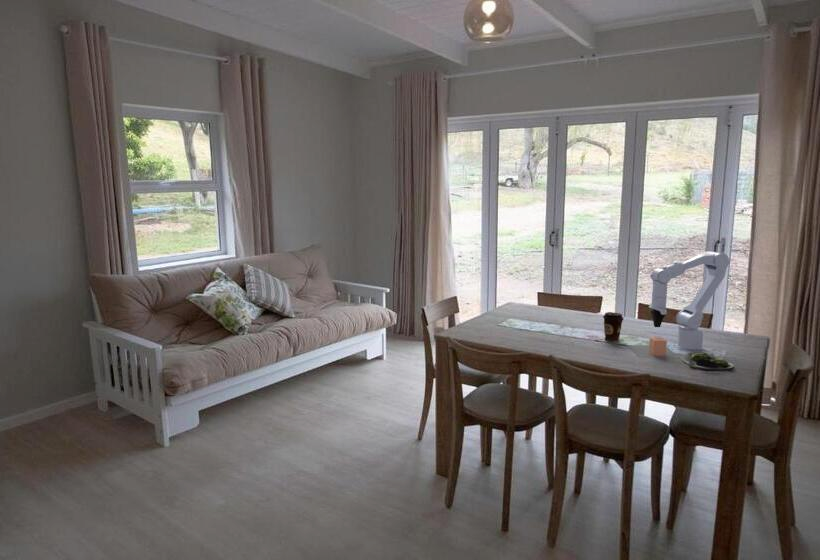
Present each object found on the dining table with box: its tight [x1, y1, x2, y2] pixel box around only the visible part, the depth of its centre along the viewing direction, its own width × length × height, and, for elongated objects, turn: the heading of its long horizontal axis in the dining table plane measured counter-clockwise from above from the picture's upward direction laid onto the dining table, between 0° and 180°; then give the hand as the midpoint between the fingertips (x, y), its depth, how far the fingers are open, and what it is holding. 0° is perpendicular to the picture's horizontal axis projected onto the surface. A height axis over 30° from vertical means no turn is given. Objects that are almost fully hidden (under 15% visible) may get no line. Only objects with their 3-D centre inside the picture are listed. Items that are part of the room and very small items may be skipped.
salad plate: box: [681, 352, 735, 372], centre depth 222 cm, size 19×18×5 cm
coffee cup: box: [602, 311, 624, 343], centre depth 254 cm, size 9×8×13 cm
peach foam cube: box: [648, 336, 668, 356], centre depth 233 cm, size 5×5×7 cm
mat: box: [626, 344, 681, 359], centre depth 238 cm, size 17×17×1 cm
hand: (657, 326), depth 241 cm, fingers closed
